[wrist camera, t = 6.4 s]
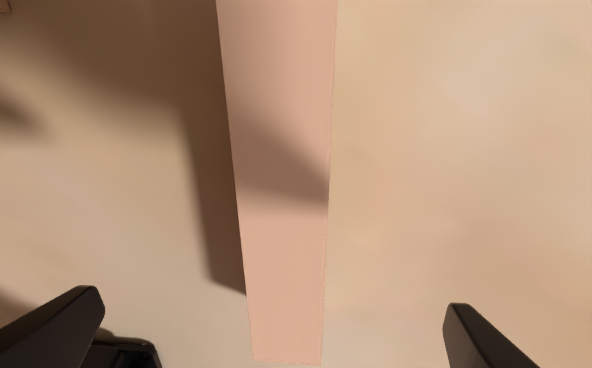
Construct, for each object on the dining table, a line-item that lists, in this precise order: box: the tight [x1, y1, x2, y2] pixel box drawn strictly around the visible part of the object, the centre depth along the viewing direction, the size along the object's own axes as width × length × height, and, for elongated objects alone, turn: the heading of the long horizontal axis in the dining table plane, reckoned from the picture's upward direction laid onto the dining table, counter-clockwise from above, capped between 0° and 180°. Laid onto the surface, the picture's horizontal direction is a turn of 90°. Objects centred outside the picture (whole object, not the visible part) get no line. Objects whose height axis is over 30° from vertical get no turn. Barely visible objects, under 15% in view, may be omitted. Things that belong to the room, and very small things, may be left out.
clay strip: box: [216, 0, 337, 366], centre depth 12 cm, size 14×3×4 cm, turn 1°
